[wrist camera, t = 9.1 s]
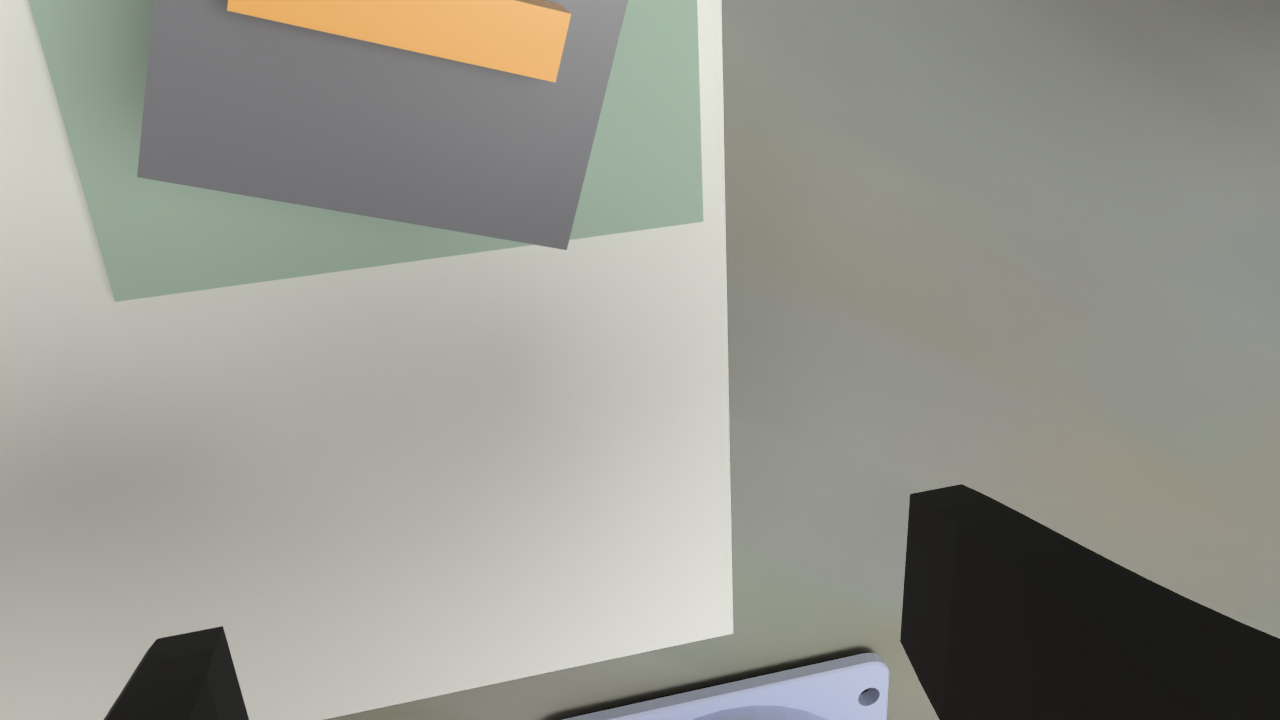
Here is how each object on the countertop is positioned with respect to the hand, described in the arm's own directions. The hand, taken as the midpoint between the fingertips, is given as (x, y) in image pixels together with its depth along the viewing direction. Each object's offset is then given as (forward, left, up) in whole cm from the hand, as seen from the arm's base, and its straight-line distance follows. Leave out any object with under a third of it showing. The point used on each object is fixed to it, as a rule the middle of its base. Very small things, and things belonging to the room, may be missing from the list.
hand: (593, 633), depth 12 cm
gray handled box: (+6, +1, -8) cm, 10 cm away
